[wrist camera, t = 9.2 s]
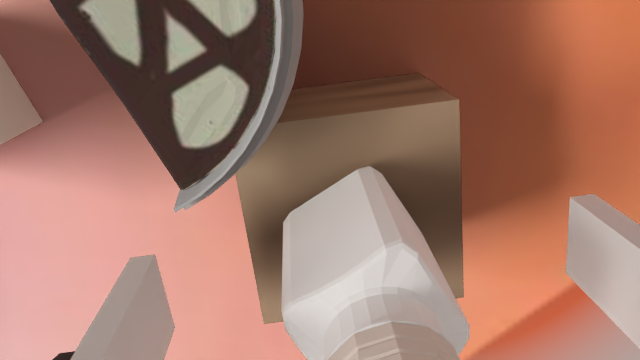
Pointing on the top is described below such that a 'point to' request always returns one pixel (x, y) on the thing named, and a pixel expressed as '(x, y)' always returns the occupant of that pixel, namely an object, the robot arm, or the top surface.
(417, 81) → the walnut block
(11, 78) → the white block
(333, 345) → the pepper shaker
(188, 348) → the top surface
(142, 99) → the food container
